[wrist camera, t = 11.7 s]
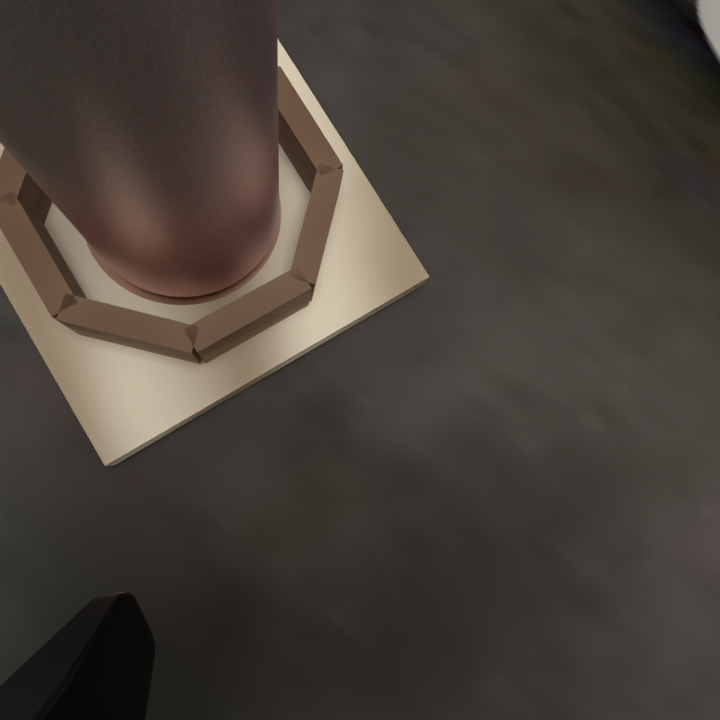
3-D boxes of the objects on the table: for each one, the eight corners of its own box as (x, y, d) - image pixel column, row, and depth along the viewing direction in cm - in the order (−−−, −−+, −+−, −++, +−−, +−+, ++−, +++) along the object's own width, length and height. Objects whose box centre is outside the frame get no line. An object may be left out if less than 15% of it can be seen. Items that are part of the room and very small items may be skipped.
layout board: (114, 465, 19) (83, 466, 16) (-65, 155, 20) (-125, 102, 17) (422, 285, 21) (445, 257, 18) (251, 15, 22) (247, -53, 19)
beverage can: (52, 206, 19) (-728, -658, 4) (194, 97, 20) (-35, -863, 6) (180, 341, 19) (-183, -89, 4) (316, 222, 20) (410, -430, 5)
